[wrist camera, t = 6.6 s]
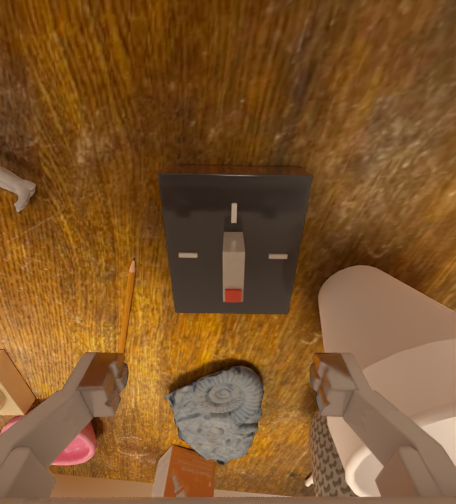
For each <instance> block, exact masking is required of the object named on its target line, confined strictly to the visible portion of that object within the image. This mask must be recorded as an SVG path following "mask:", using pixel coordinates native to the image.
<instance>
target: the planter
mask: <svg viewBox="0 0 456 504" xmlns="http://www.w3.org/2000/svg"><path fill="white" fill-rule="evenodd" d="M309 453H310V462H311V470H312V477H313V484H314V491H315V497H359V496H358V495H356V494H355V493H354V492H353V491H352V489H351V488H350V487H349V485H348V484H347V482H346V481H345V470H344V468H343V465H342V462H341V460H340V457H339V454H338V452H337V449H336V446H335V444H334V441H333V438H332V436H331V433H330V431H329V428H328V424H327V416H321V414H320V410H319V408H318V409H317V410H316V412H315V414H314V416H313V418H312V420H311V423H310V428H309Z"/></svg>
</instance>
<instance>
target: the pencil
mask: <svg viewBox="0 0 456 504" xmlns="http://www.w3.org/2000/svg"><path fill="white" fill-rule="evenodd" d="M135 275H136V268H135V259H133V262H132V264H131V266H130V269H129V272H128V280H127V288H126V296H125V303H124V311H123V319H122V327H121V334H120V342H119V350H118V353H123V354H124V350H125V343H126V336H127V329H128V322H129V315H130V309H131V302H132V295H133V288H134V281H135Z"/></svg>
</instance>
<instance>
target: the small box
mask: <svg viewBox="0 0 456 504" xmlns="http://www.w3.org/2000/svg"><path fill="white" fill-rule="evenodd" d="M214 475H215V461H214V460H213V459H209V460H205V459H204V458H203V457H202V456H200V455H199V454H198V453H197V452H195V451H191V450H188V449H184V448H181V447H178V446H175V445H172V446H171V447H170V448H169V449H168V450H167V452H166V453H165V454H164V455H163V456H162V457H161V458H160V459H159V462H158V466H157V471H156V475H155V480H154V485H153V489H152V494H151V497H213V495H214Z"/></svg>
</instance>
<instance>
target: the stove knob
mask: <svg viewBox="0 0 456 504" xmlns="http://www.w3.org/2000/svg"><path fill="white" fill-rule="evenodd" d="M244 271H245V245H244V236H243V232H224V236H223V302H243V293H244Z"/></svg>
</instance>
